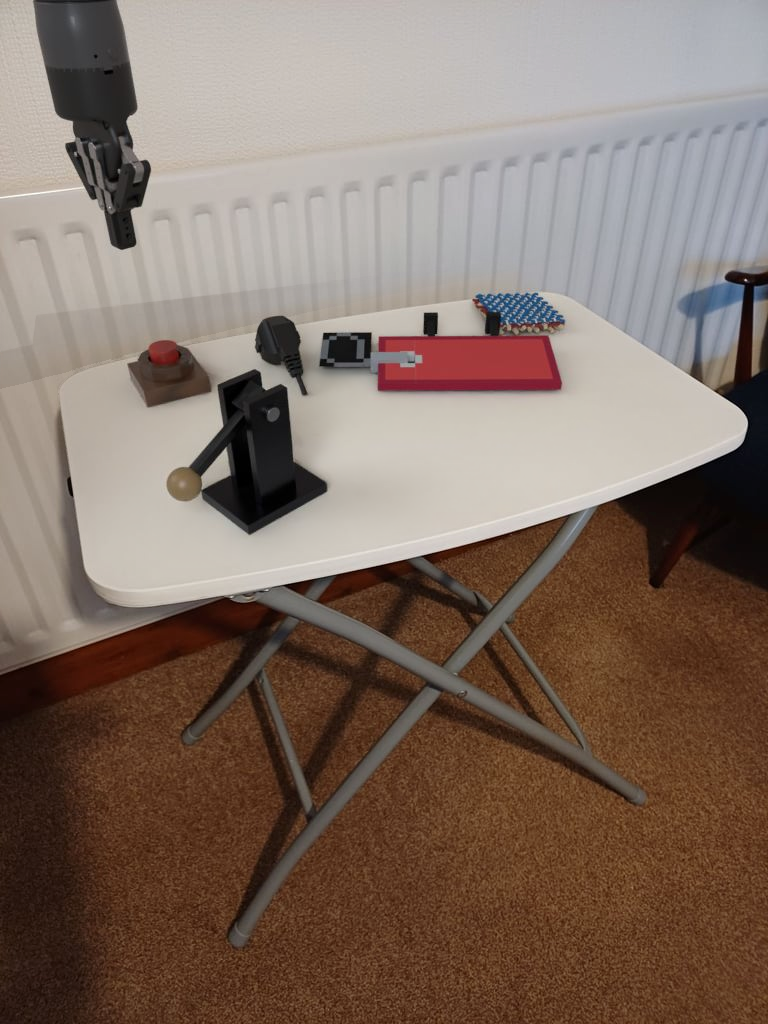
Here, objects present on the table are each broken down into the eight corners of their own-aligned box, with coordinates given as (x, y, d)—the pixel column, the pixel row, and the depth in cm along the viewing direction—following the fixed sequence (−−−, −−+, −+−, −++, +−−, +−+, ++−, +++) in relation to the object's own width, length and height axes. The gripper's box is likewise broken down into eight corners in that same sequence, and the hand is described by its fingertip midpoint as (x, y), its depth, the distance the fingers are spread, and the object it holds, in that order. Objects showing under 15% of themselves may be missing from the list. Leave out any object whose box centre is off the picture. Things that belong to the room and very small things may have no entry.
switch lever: (192, 513, 72) (172, 497, 70) (173, 498, 74) (153, 481, 72) (282, 407, 74) (265, 387, 72) (261, 395, 76) (244, 375, 74)
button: (155, 368, 94) (152, 355, 93) (147, 356, 97) (145, 343, 96) (182, 361, 96) (180, 348, 94) (174, 350, 98) (172, 337, 97)
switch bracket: (249, 535, 76) (233, 422, 68) (202, 499, 80) (181, 389, 72) (327, 491, 81) (321, 382, 73) (279, 459, 86) (268, 353, 78)
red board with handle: (324, 331, 108) (317, 394, 97) (323, 313, 106) (315, 374, 95) (542, 330, 107) (560, 392, 96) (545, 311, 106) (563, 373, 95)
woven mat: (468, 305, 114) (470, 291, 113) (533, 303, 117) (536, 290, 116) (496, 335, 107) (499, 321, 105) (565, 333, 110) (569, 319, 108)
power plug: (284, 396, 94) (252, 310, 97) (276, 422, 101) (246, 341, 104) (327, 386, 96) (295, 302, 99) (316, 412, 103) (287, 333, 106)
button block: (147, 407, 94) (140, 378, 92) (130, 378, 100) (123, 350, 97) (211, 391, 97) (206, 362, 95) (191, 364, 103) (186, 336, 100)
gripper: (15, 54, 73) (61, 239, 84) (83, 71, 66) (125, 273, 76) (89, 46, 77) (124, 224, 88) (161, 61, 70) (190, 254, 81)
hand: (124, 246), depth 82 cm, fingers closed
